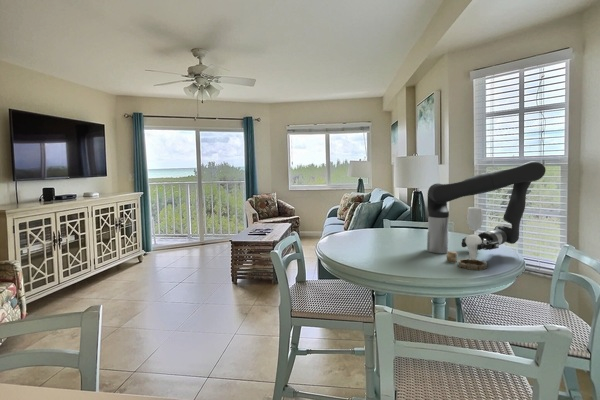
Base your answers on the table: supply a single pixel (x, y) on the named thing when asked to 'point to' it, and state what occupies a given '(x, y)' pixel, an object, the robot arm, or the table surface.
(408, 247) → the table surface
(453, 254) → the oak stub
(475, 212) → the cup
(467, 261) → the holder ring
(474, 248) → the lightbulb
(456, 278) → the table surface
